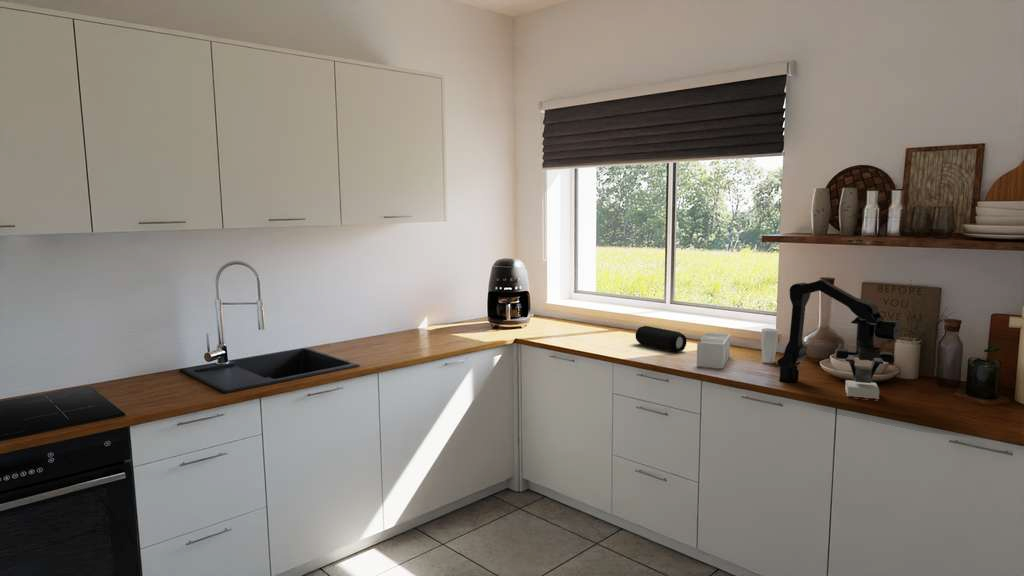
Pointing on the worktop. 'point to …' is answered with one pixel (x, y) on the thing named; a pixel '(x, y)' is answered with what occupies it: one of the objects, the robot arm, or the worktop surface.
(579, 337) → the worktop surface
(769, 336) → the white tumbler
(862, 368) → the charcoal cube
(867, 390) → the cream base block
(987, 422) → the worktop surface
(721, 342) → the storage container
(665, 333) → the portable speaker
